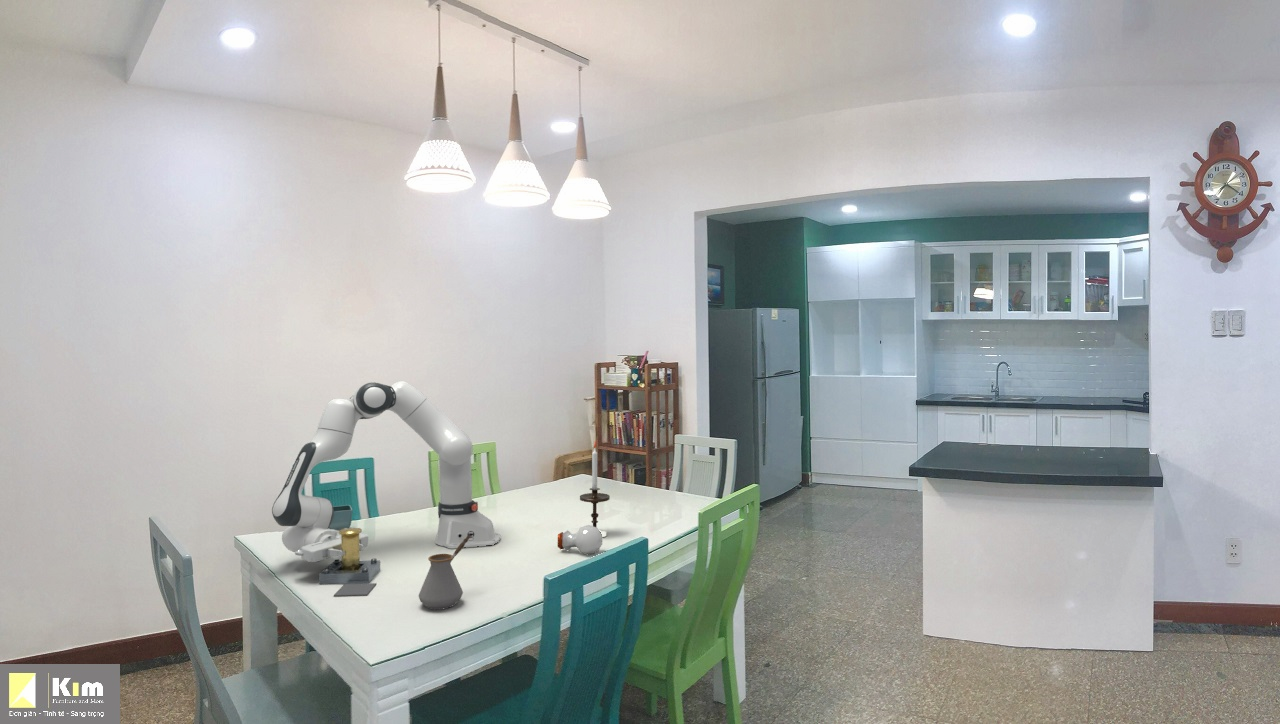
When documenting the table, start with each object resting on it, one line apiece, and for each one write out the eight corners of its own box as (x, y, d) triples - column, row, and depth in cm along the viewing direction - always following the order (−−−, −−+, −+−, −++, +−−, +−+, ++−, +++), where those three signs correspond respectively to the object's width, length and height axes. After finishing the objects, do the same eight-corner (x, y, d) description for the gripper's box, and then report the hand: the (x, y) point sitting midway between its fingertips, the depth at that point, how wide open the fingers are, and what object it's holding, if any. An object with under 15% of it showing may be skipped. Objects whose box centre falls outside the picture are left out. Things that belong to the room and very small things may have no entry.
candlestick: (600, 529, 267) (600, 437, 266) (615, 536, 258) (615, 440, 257) (574, 534, 261) (574, 439, 260) (588, 541, 252) (589, 442, 251)
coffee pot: (447, 614, 185) (447, 557, 184) (409, 609, 188) (409, 553, 187) (488, 587, 205) (488, 535, 205) (453, 583, 208) (453, 532, 208)
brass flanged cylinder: (364, 573, 217) (364, 527, 217) (358, 580, 211) (358, 533, 210) (343, 573, 216) (342, 528, 216) (336, 580, 210) (335, 533, 210)
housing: (380, 569, 220) (380, 557, 220) (368, 583, 208) (368, 570, 208) (333, 571, 219) (333, 558, 219) (319, 584, 207) (319, 571, 207)
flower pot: (326, 536, 257) (326, 512, 256) (325, 531, 264) (324, 507, 264) (352, 534, 261) (352, 509, 260) (350, 528, 269) (350, 504, 268)
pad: (376, 584, 207) (376, 583, 207) (367, 595, 198) (367, 594, 198) (344, 585, 206) (344, 584, 206) (333, 596, 197) (333, 595, 197)
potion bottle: (603, 560, 235) (561, 561, 240) (609, 536, 243) (568, 538, 247) (594, 542, 230) (552, 543, 234) (601, 518, 237) (560, 520, 242)
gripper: (291, 542, 211) (321, 549, 204) (350, 526, 228) (379, 532, 221) (291, 563, 211) (321, 571, 204) (350, 546, 229) (380, 552, 222)
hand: (352, 550), depth 213 cm, fingers closed on brass flanged cylinder, 5 cm apart
